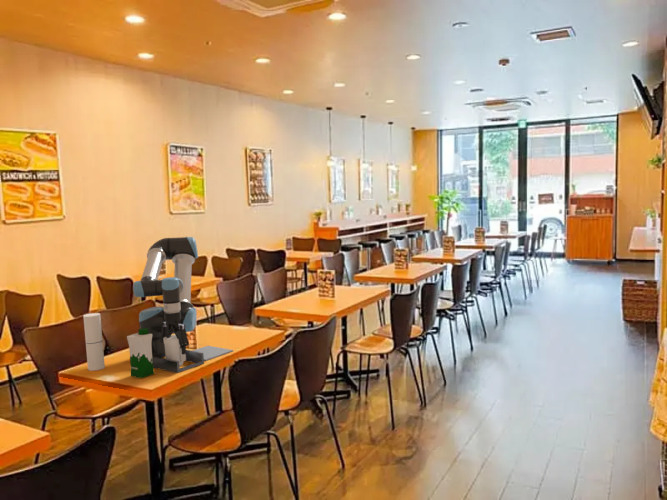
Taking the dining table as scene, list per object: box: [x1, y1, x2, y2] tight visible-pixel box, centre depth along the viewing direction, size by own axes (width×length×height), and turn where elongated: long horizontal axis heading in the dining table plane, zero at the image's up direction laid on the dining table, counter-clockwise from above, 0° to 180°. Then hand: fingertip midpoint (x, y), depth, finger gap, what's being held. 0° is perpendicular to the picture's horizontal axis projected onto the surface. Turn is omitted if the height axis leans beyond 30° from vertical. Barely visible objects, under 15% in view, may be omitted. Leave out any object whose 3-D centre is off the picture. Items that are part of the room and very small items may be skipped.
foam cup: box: [163, 334, 184, 367], centre depth 262 cm, size 10×9×13 cm
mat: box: [192, 345, 234, 362], centre depth 280 cm, size 18×18×1 cm
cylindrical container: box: [82, 312, 106, 372], centre depth 261 cm, size 7×7×25 cm
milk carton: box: [126, 328, 155, 379], centre depth 249 cm, size 9×9×20 cm
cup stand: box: [152, 349, 205, 374], centre depth 262 cm, size 20×15×5 cm
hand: (175, 359), depth 262 cm, fingers closed on foam cup, 9 cm apart
